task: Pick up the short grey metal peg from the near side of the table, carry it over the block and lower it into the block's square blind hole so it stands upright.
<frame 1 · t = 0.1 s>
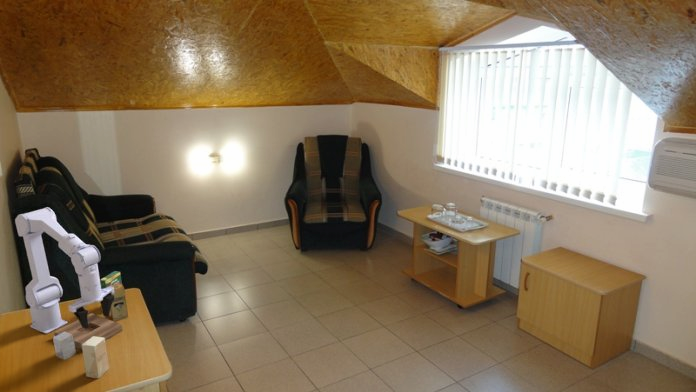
hand: (96, 321, 156), 10 cm above the table, tool pointing down, fingers open, 7 cm apart
socket block: (89, 334, 166), on the table
peg: (66, 354, 155), on the table
shoe polish box: (119, 316, 178), on the table
box: (98, 373, 147), on the table
coffee box: (114, 306, 185), on the table
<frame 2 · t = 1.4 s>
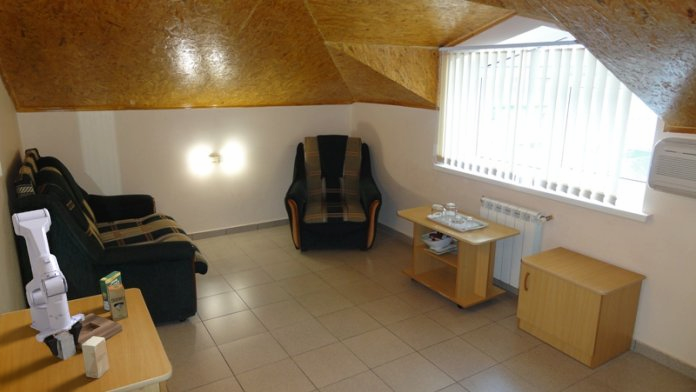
hand: (65, 349, 154), 2 cm above the table, tool pointing down, fingers open, 6 cm apart
nothing on the table moved.
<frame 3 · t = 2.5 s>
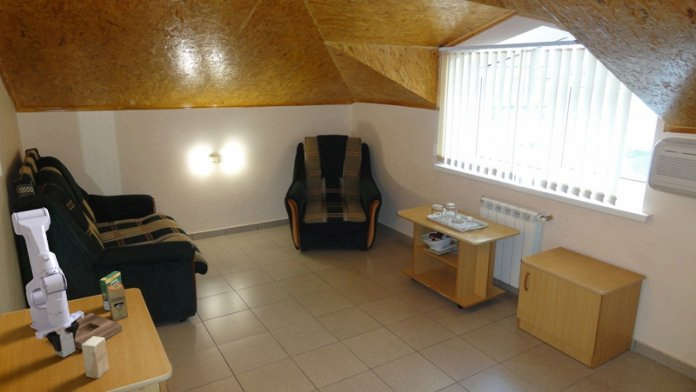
hand: (64, 347, 154), 3 cm above the table, tool pointing down, fingers closed on peg, 4 cm apart
peg: (65, 352, 155), point 1 cm above the table, touching gripper
everything else where it was.
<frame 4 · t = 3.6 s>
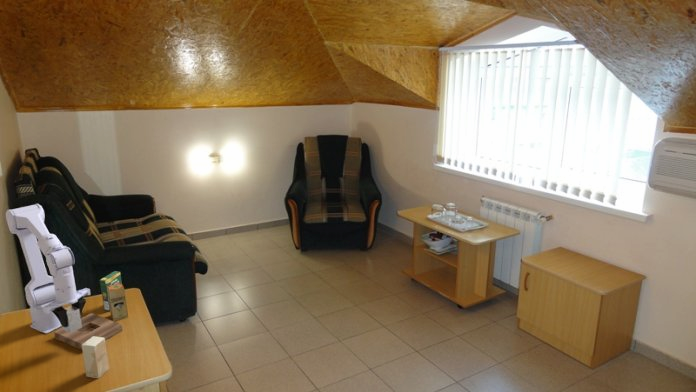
hand: (71, 322, 157), 9 cm above the table, tool pointing down, fingers closed on peg, 4 cm apart
peg: (72, 328, 157), point 7 cm above the table, touching gripper
everything else where it was.
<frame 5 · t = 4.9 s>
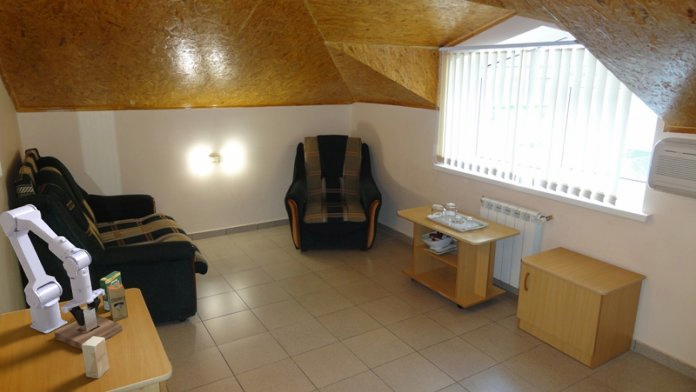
hand: (87, 321, 165), 5 cm above the table, tool pointing down, fingers closed on peg, 4 cm apart
peg: (88, 327, 165), point 3 cm above the table, touching gripper
everything else where it was.
when the fingers open (3 cm above the table, at t = 5.7 s): peg stays where it is, resting on socket block.
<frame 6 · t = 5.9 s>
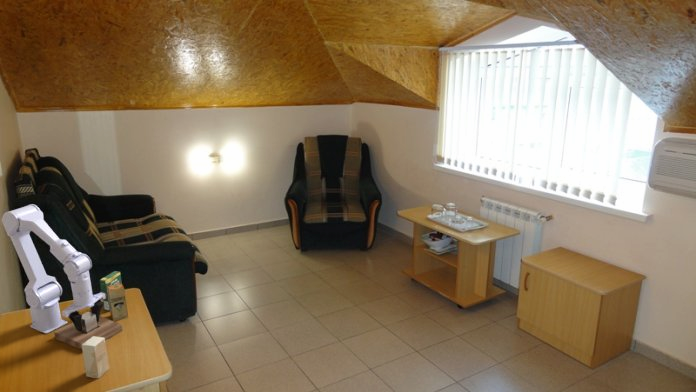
hand: (87, 325, 165), 3 cm above the table, tool pointing down, fingers open, 6 cm apart
peg: (89, 333, 166), resting on socket block
everything else where it was.
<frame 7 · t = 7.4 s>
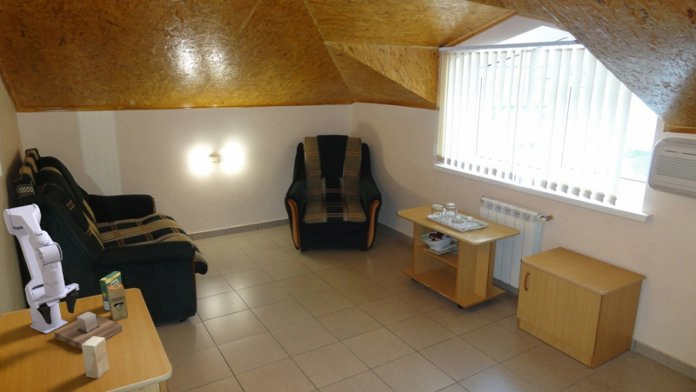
hand: (60, 317, 159), 9 cm above the table, tool pointing down, fingers open, 7 cm apart
nothing on the table moved.
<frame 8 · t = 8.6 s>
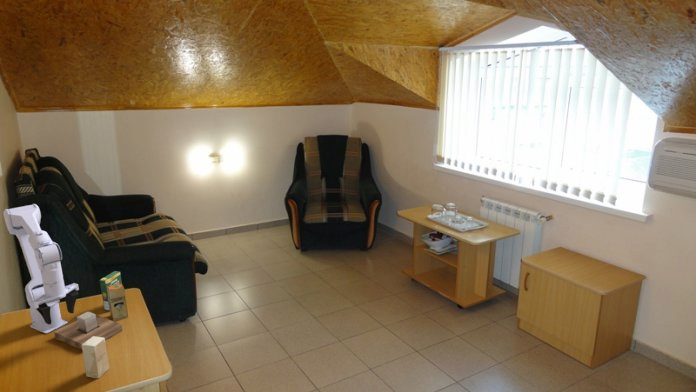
hand: (59, 317, 159), 9 cm above the table, tool pointing down, fingers open, 7 cm apart
nothing on the table moved.
at the end: peg 0.1 cm off-centre on the socket block, point 0.5 cm above the socket block's base; peg tilted 0°; the gripper is holding nothing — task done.
